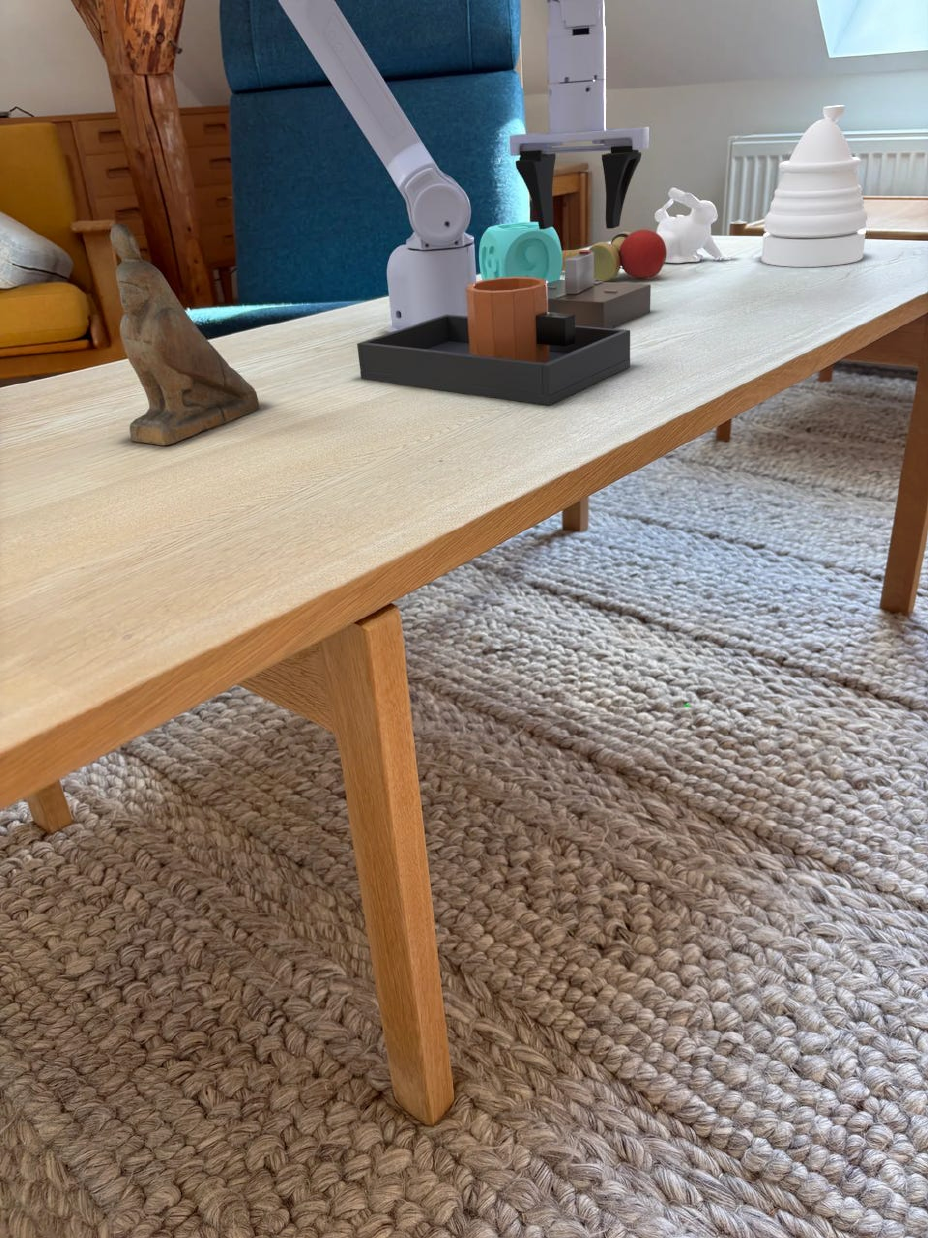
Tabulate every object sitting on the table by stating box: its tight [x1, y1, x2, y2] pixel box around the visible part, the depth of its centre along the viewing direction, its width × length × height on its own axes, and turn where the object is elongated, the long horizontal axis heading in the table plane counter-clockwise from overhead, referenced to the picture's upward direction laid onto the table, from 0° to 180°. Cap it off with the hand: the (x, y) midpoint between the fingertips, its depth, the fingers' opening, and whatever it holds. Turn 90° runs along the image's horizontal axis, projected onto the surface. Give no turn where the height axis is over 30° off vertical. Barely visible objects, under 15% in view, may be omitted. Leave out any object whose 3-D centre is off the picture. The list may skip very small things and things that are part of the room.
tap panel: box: [547, 279, 652, 329], centre depth 108 cm, size 12×10×3 cm
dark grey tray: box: [356, 315, 631, 406], centre depth 89 cm, size 21×13×3 cm, turn 52°
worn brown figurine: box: [109, 222, 260, 446], centre depth 78 cm, size 12×6×18 cm, turn 145°
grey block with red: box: [564, 249, 595, 294], centre depth 106 cm, size 5×1×4 cm, turn 152°
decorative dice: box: [478, 221, 563, 283], centre depth 122 cm, size 8×8×8 cm
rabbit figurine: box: [654, 187, 733, 264], centre depth 134 cm, size 12×8×10 cm, turn 50°
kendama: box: [561, 228, 667, 282], centre depth 129 cm, size 8×6×18 cm
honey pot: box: [761, 105, 868, 268], centre depth 127 cm, size 13×13×18 cm
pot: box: [466, 277, 575, 363], centre depth 86 cm, size 10×7×7 cm
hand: (578, 227), depth 104 cm, fingers open, 7 cm apart
